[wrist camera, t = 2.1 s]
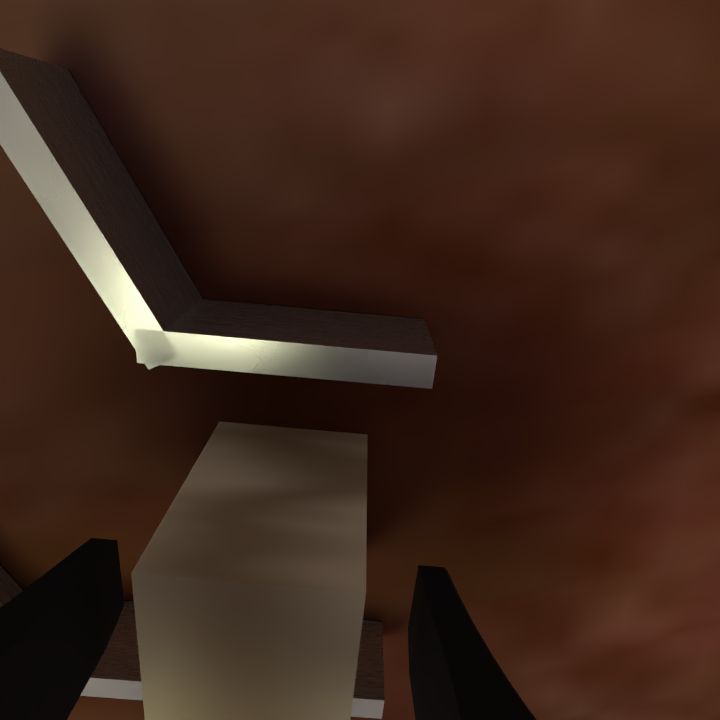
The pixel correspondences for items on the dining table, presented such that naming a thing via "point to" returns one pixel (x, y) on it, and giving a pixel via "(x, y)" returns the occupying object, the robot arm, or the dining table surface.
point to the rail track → (180, 307)
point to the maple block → (257, 580)
